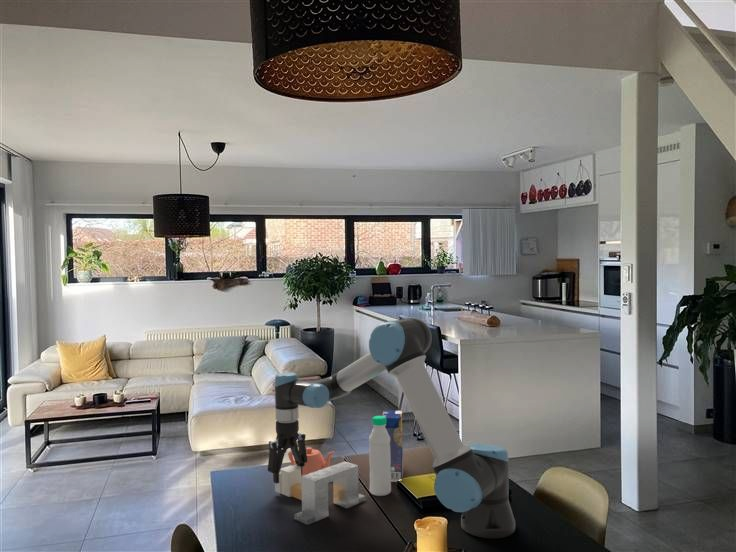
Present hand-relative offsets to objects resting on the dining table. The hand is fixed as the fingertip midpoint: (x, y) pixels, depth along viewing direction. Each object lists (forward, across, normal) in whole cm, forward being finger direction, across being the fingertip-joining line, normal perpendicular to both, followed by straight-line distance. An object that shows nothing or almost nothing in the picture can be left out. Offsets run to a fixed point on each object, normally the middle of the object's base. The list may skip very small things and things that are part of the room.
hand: (288, 488), depth 199 cm
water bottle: (+1, -20, +23) cm, 31 cm away
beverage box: (+1, -34, +16) cm, 38 cm away
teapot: (+1, -16, -7) cm, 18 cm away
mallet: (+1, 0, +8) cm, 8 cm away
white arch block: (+1, 0, +21) cm, 21 cm away
